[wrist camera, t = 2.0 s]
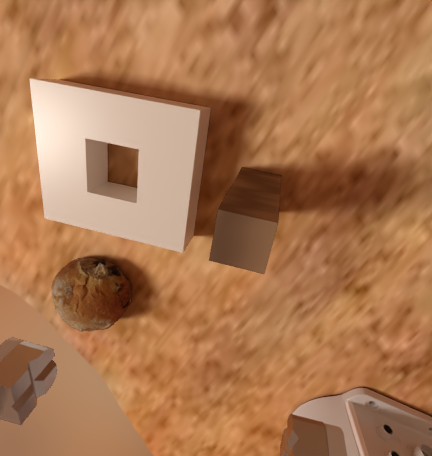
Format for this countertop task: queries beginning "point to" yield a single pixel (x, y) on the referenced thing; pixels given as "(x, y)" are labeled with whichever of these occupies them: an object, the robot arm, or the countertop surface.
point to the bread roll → (91, 294)
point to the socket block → (98, 160)
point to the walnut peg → (247, 221)
